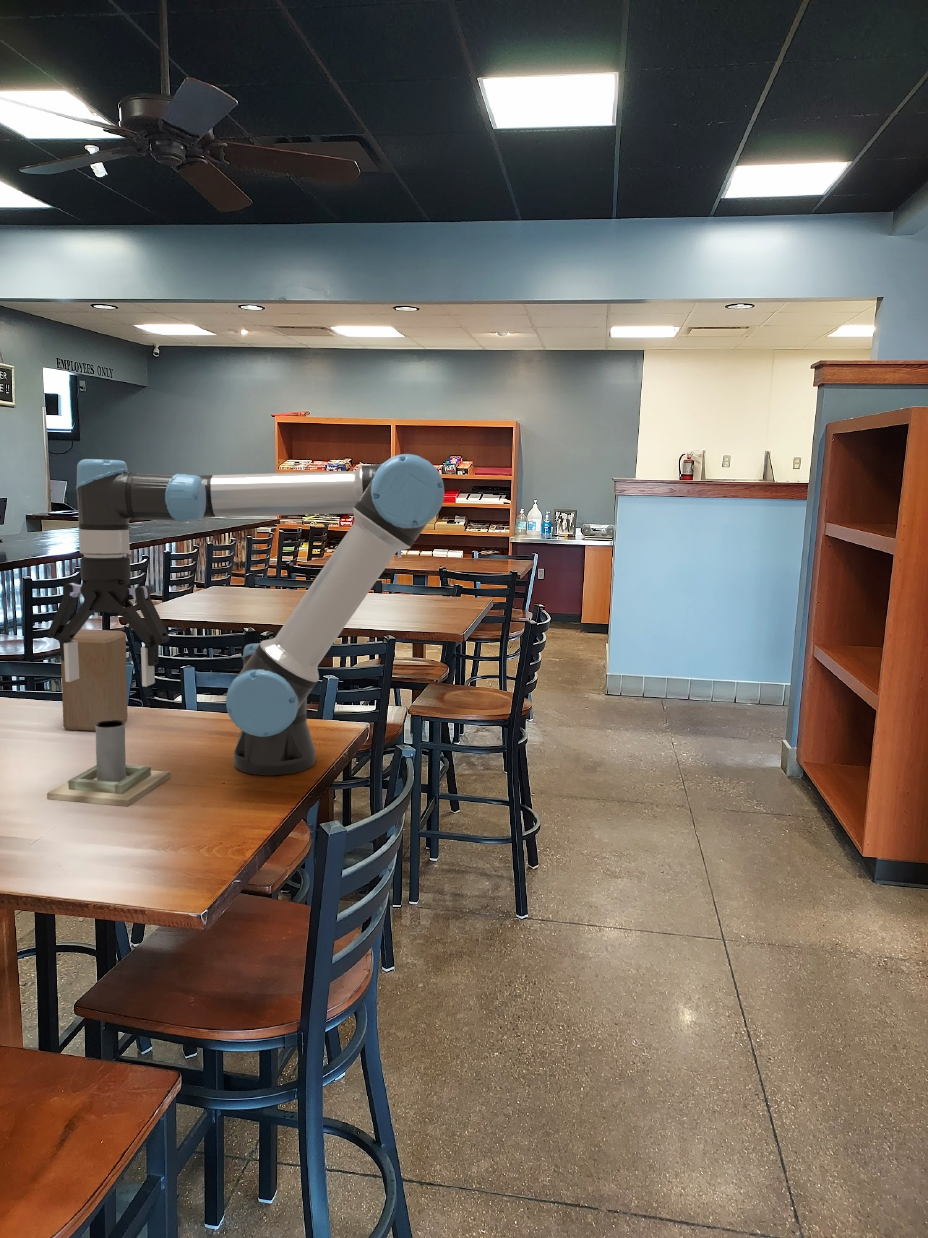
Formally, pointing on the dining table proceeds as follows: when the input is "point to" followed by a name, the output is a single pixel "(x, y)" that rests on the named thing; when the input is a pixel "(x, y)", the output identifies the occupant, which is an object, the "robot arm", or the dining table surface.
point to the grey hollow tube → (110, 750)
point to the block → (96, 681)
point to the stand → (109, 787)
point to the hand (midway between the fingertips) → (110, 682)
